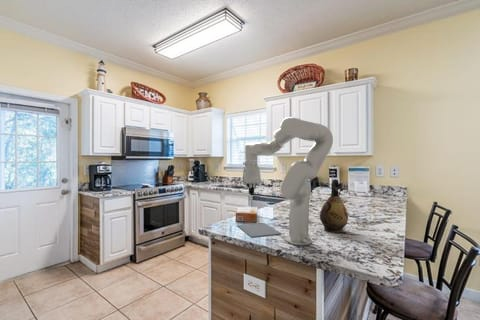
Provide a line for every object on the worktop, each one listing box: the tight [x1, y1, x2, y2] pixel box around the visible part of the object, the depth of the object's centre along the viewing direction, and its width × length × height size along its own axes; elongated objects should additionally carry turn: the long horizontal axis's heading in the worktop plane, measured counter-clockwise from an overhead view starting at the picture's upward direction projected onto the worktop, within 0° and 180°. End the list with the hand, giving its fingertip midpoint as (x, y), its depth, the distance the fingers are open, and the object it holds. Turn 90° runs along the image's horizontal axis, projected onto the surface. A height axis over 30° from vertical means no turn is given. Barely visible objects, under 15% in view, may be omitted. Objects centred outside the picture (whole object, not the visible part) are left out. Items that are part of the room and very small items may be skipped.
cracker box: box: [235, 205, 259, 223], centre depth 164 cm, size 14×6×21 cm
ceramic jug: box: [319, 178, 349, 233], centre depth 140 cm, size 17×15×30 cm
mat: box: [237, 222, 282, 239], centre depth 137 cm, size 22×18×1 cm
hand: (251, 194), depth 142 cm, fingers closed
